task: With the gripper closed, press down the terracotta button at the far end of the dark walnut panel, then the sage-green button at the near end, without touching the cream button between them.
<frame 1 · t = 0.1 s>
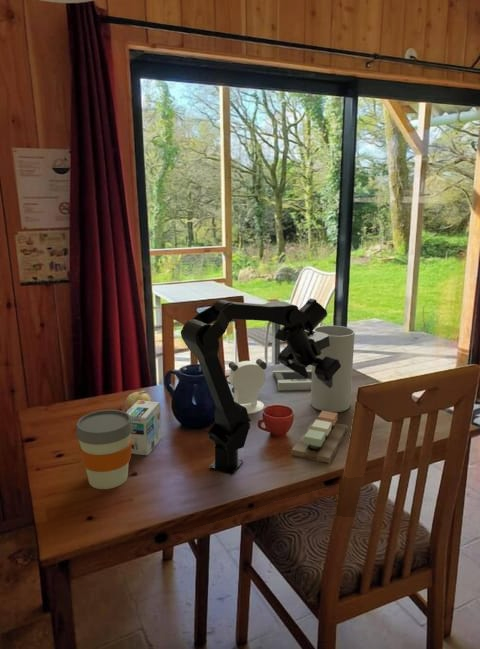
hand: (318, 382, 137), 15 cm above the table, tool tilted 30°, fingers open, 9 cm apart
onion: (139, 412, 153), on the table
walnut panel: (320, 441, 134), on the table
terracotta button: (327, 420, 139), point 4 cm above the table, slide at 0.0 cm
cream button: (321, 430, 133), point 4 cm above the table, slide at 0.0 cm
light grey tray: (298, 383, 179), on the table
light bulb box: (143, 445, 133), on the table
panda figurine: (247, 406, 157), on the table
reusable coffee cup: (108, 479, 117), on the table
sage button: (314, 440, 128), point 4 cm above the table, slide at 0.0 cm
cylinder vase: (330, 405, 158), on the table
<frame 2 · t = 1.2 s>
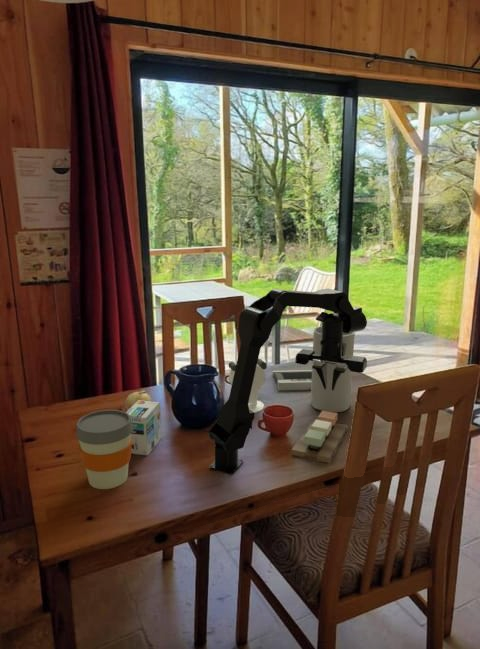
hand: (329, 389, 137), 13 cm above the table, tool pointing down, fingers closed
nothing on the table moved.
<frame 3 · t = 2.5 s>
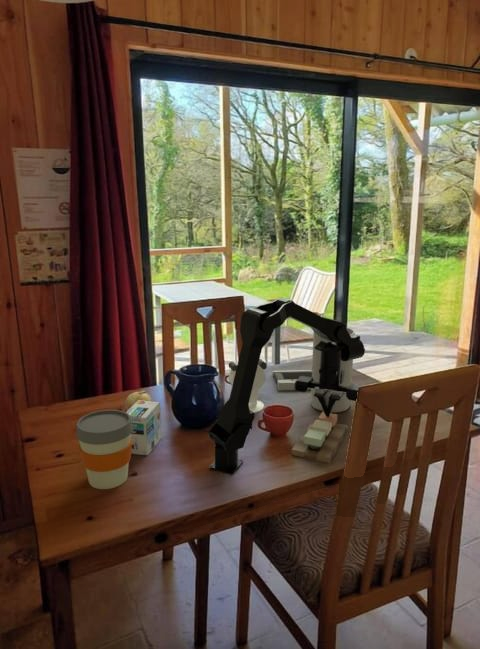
hand: (327, 416, 139), 5 cm above the table, tool pointing down, fingers closed, pressing on terracotta button
terracotta button: (327, 421, 139), point 3 cm above the table, slide at 0.4 cm, touching gripper
everything else where it was.
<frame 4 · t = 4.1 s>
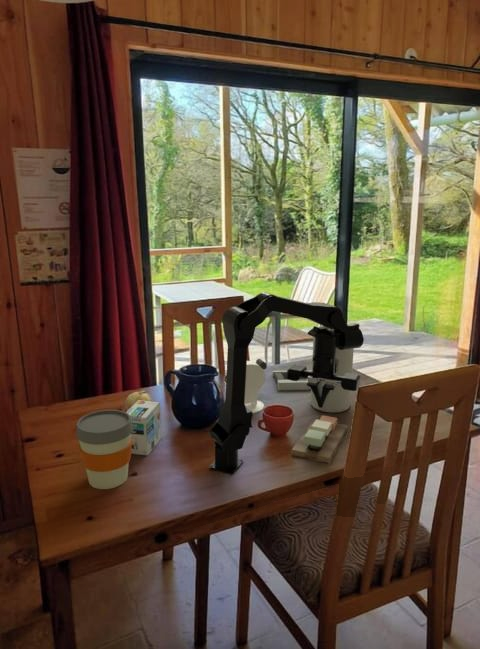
hand: (320, 407, 131), 10 cm above the table, tool pointing down, fingers closed
terracotta button: (327, 425, 139), point 2 cm above the table, slide at 1.5 cm
everything else where it was.
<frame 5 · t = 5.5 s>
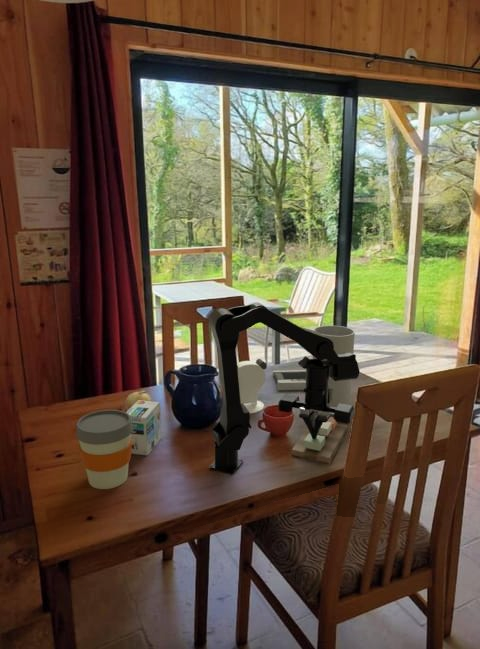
hand: (314, 438, 128), 4 cm above the table, tool pointing down, fingers closed, pressing on sage button
sage button: (314, 444, 128), point 2 cm above the table, slide at 1.2 cm, touching gripper
everything else where it was.
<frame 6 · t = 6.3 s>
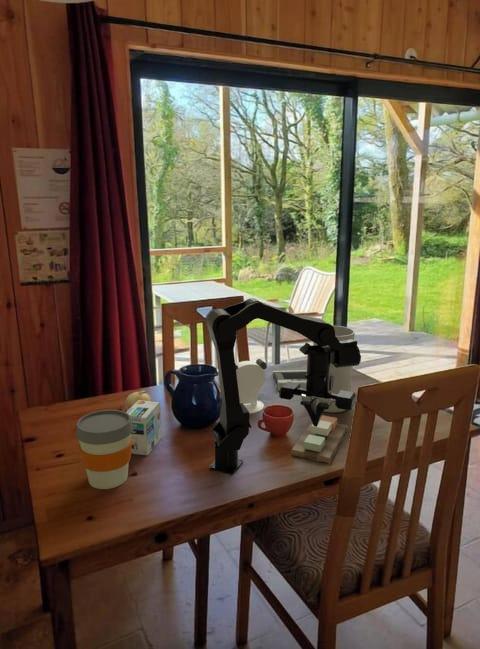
hand: (315, 425, 127), 8 cm above the table, tool pointing down, fingers closed
sage button: (314, 445, 128), point 2 cm above the table, slide at 1.5 cm
everything else where it was.
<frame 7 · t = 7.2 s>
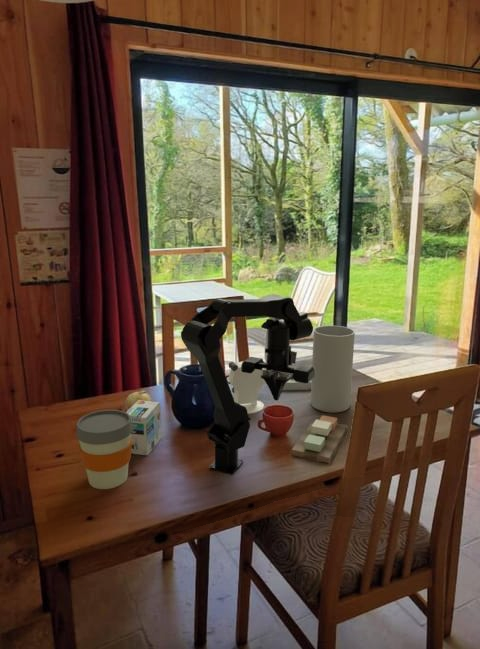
hand: (276, 399, 130), 13 cm above the table, tool pointing down, fingers closed
nothing on the table moved.
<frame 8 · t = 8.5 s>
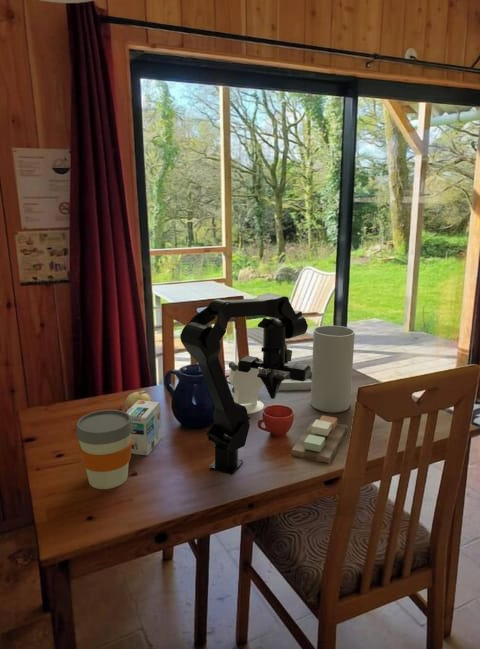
hand: (273, 398, 131), 13 cm above the table, tool pointing down, fingers closed
nothing on the table moved.
at the end: terracotta button slide at 1.5 cm; sage button slide at 1.5 cm; cream button slide at 0.0 cm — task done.
